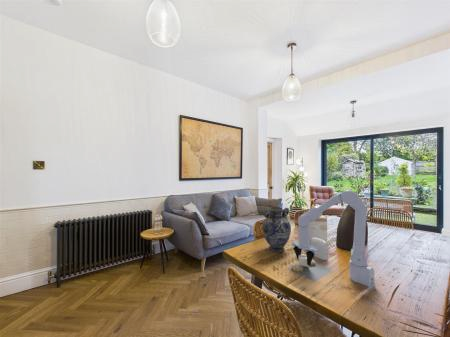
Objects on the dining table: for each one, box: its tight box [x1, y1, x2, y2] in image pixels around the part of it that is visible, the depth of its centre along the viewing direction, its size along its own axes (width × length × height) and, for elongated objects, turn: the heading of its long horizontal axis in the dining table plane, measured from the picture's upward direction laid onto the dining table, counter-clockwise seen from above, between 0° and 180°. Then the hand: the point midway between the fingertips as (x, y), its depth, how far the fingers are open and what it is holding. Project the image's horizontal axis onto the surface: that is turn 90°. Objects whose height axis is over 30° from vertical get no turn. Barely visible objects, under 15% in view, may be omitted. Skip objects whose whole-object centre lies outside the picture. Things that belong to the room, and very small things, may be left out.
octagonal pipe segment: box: [297, 253, 309, 266], centre depth 110 cm, size 5×5×4 cm
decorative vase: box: [262, 206, 292, 253], centre depth 139 cm, size 21×19×28 cm
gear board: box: [286, 259, 334, 282], centre depth 107 cm, size 16×18×6 cm
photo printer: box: [310, 238, 329, 261], centre depth 123 cm, size 10×4×12 cm, turn 25°
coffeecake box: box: [309, 215, 328, 245], centre depth 151 cm, size 15×7×20 cm, turn 80°
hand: (304, 262), depth 110 cm, fingers closed on octagonal pipe segment, 5 cm apart
